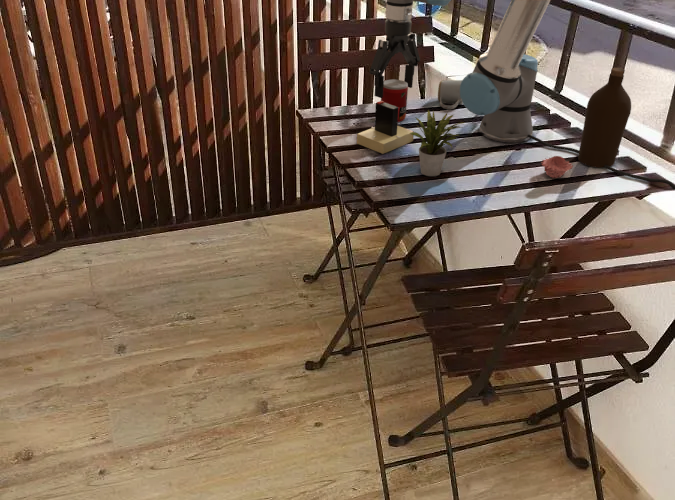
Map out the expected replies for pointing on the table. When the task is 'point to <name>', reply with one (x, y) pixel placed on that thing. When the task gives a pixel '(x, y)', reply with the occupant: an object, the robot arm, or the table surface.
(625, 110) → the olive oil
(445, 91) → the ceramic mug
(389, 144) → the tan box
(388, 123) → the red-topped black block
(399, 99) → the canned food
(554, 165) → the flower
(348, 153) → the table surface
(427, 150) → the house plant
